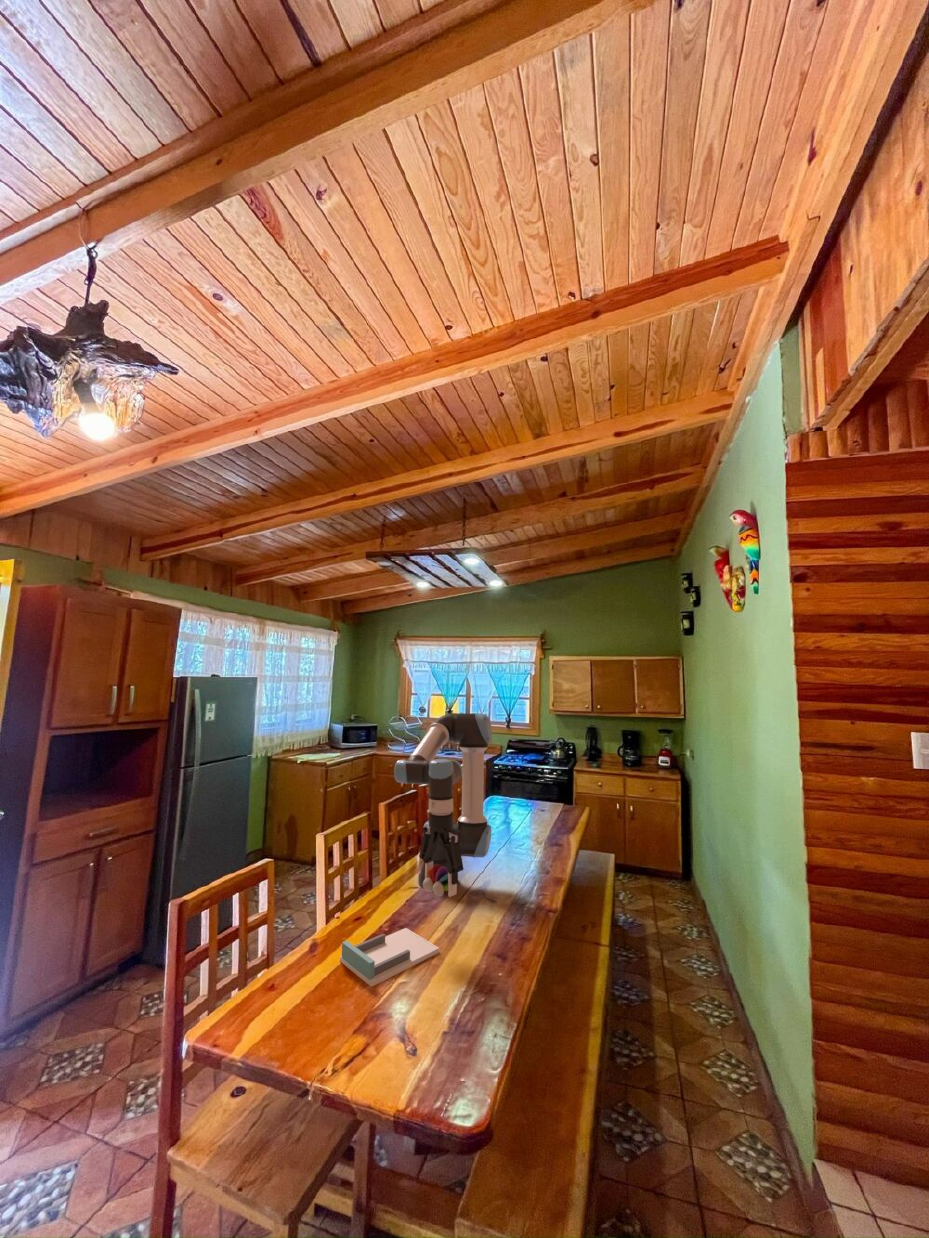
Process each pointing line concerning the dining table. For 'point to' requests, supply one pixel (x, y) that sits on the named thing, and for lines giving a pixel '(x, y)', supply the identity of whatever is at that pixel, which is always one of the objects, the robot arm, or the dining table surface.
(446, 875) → the multicolored rounded lobe cluster
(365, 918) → the dining table surface
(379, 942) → the board
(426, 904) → the dining table surface
